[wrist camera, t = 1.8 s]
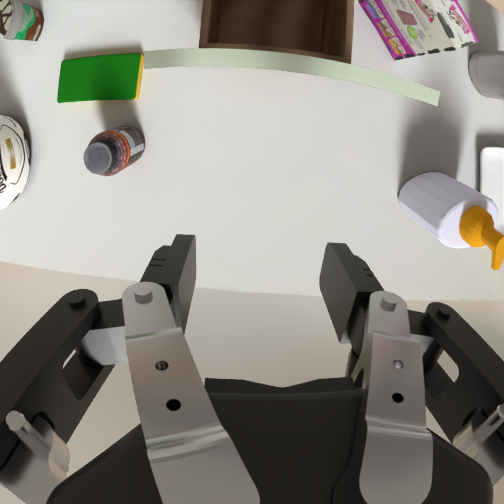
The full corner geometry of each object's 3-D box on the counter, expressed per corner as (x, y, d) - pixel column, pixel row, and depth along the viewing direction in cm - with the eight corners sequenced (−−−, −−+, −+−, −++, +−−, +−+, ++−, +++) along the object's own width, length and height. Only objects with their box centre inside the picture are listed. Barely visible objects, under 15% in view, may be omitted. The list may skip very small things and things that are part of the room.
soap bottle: (396, 220, 48) (462, 285, 30) (396, 175, 44) (472, 224, 26) (453, 209, 47) (523, 262, 29) (454, 168, 43) (533, 209, 25)
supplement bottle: (120, 169, 42) (87, 190, 32) (105, 135, 40) (69, 148, 30) (152, 153, 42) (125, 170, 32) (137, 118, 39) (106, 125, 29)
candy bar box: (415, 52, 34) (481, 43, 20) (393, 61, 35) (457, 52, 21) (380, -6, 29) (435, -38, 15) (357, 1, 31) (407, -34, 16)
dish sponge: (68, 61, 33) (61, 60, 31) (145, 55, 35) (140, 52, 32) (64, 102, 37) (56, 103, 34) (139, 99, 38) (134, 99, 36)
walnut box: (328, -16, 29) (354, -46, 19) (322, 74, 37) (350, 65, 26) (219, -27, 28) (213, -64, 18) (210, 64, 36) (198, 50, 25)
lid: (440, 91, 13) (437, 106, 14) (353, 67, 26) (352, 75, 27) (144, 51, 12) (143, 68, 13) (194, 51, 25) (194, 59, 26)
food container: (61, 13, 28) (27, 3, 19) (41, 43, 30) (5, 39, 21) (26, -4, 24) (-6, -13, 15) (9, 23, 26) (-25, 19, 17)
